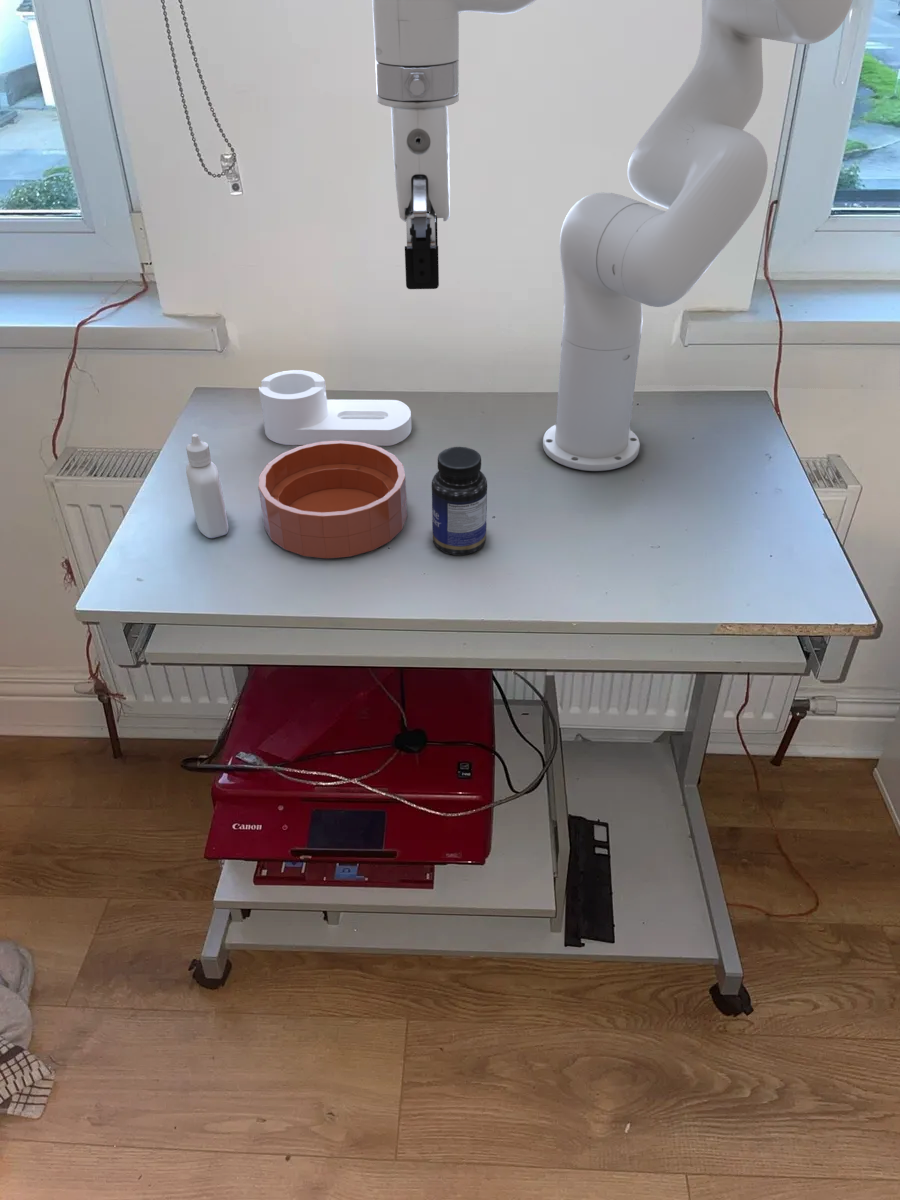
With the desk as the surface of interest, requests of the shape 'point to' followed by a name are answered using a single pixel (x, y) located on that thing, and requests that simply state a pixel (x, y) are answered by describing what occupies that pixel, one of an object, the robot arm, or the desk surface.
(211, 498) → the eye dropper bottle
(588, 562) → the desk surface
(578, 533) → the desk surface
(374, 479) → the bowl
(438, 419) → the desk surface
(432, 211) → the robot arm
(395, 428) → the bracket
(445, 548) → the pill bottle
